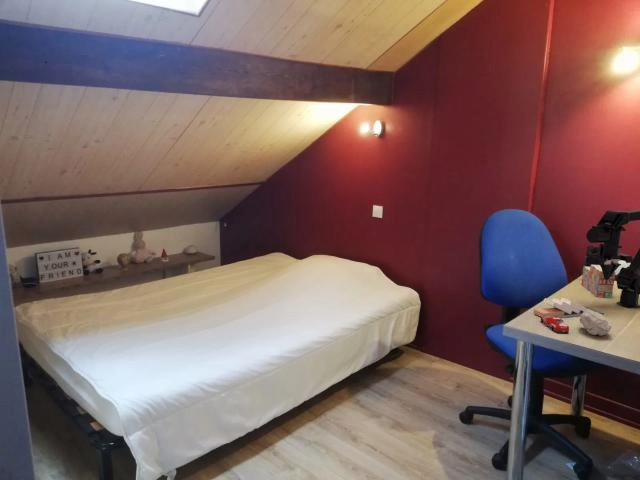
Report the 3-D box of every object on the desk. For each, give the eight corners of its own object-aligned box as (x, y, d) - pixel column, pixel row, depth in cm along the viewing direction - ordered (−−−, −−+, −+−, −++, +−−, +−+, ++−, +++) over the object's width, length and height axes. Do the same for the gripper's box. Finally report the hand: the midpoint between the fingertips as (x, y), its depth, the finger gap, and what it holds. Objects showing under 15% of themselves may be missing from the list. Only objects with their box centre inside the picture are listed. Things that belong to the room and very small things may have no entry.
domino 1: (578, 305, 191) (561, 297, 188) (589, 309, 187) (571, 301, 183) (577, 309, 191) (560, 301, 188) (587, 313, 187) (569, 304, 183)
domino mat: (586, 307, 195) (587, 306, 195) (603, 313, 187) (603, 312, 187) (543, 311, 188) (543, 310, 188) (558, 318, 181) (558, 317, 181)
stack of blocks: (580, 284, 230) (584, 260, 228) (595, 285, 229) (598, 260, 226) (596, 297, 209) (600, 270, 207) (612, 298, 208) (615, 271, 206)
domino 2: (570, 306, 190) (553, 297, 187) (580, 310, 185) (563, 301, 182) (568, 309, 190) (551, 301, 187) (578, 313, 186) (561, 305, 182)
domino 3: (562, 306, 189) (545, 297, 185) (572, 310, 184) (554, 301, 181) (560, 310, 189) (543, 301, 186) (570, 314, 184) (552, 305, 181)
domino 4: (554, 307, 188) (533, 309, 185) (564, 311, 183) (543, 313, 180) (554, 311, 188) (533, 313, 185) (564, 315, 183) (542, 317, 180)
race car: (538, 321, 178) (539, 311, 178) (552, 321, 179) (553, 311, 178) (555, 334, 165) (556, 323, 165) (570, 334, 166) (572, 323, 165)
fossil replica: (594, 326, 174) (570, 330, 172) (594, 304, 173) (569, 308, 171) (620, 336, 162) (595, 340, 160) (620, 313, 161) (595, 316, 159)
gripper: (611, 237, 200) (606, 273, 203) (576, 239, 194) (572, 276, 197) (636, 242, 190) (630, 280, 192) (599, 244, 184) (594, 283, 187)
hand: (606, 279), depth 193 cm, fingers closed
